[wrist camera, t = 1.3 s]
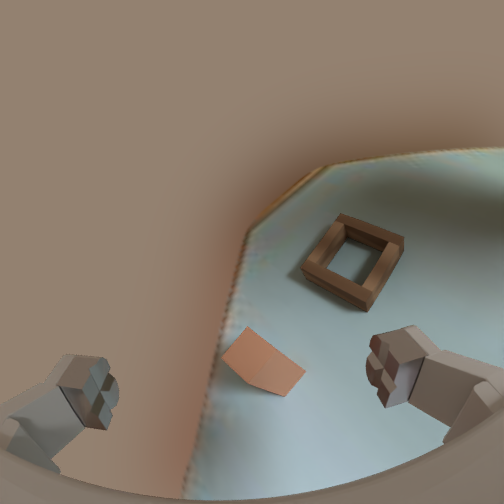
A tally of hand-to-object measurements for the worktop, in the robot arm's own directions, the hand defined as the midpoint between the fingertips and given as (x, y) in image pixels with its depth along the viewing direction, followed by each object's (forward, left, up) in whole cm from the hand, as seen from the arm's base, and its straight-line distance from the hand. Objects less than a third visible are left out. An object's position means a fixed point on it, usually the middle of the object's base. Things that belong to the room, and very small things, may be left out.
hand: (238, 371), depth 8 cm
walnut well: (-16, -10, -25) cm, 32 cm away
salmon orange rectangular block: (+1, -9, -25) cm, 27 cm away
